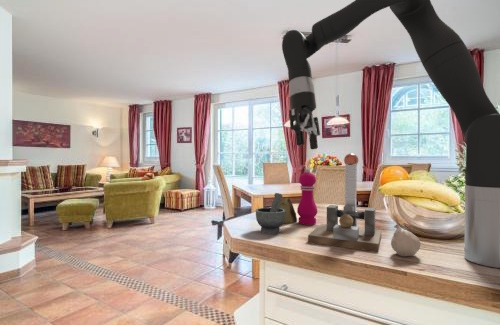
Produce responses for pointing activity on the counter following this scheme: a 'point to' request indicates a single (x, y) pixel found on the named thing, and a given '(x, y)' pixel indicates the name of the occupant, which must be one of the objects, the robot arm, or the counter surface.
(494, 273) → the counter surface
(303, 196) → the pepper mill
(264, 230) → the mortar and pestle
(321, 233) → the cracker base
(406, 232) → the garlic bulb
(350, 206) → the lever
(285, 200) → the rock
